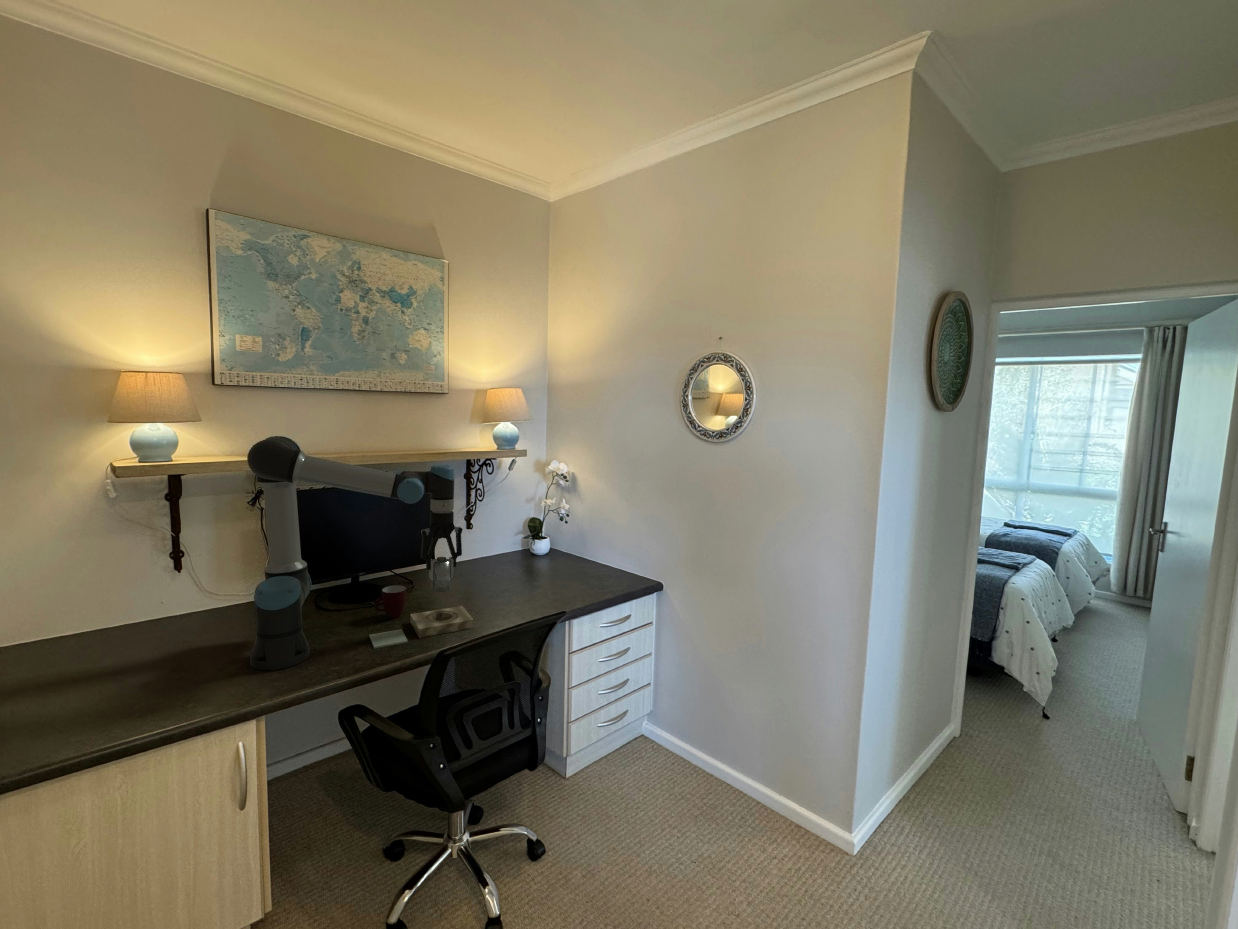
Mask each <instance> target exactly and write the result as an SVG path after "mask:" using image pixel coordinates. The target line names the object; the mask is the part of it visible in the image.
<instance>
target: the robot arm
mask: <svg viewBox="0 0 1238 929" xmlns="http://www.w3.org/2000/svg"><path fill="white" fill-rule="evenodd" d="M248 450H249V451H248V453H247V456H246V457H247V458H246V459H247V465H248V467H249V469H250V471H252V473H253V474H254V475H256V483H257V484H258V485H260V486H261V487H262V488H263V498H264V511H265V521H266V524H265V525H266V532H267V546H268V558H269V564H267V565H266V566H265V568H264V580H262V581H260V582H259V583H258V584H256V587H255V588H254V595H253V600H254V610H255V611H254V615H255V632H256V634H255V636H256V638H255V641H254V643H253V647H252V650H251V653H250V655H249V656H250V657H249V661H250V662H249V663H250V666H251V667H252V668H253V669H255V670H259V671H277V670H284V669H287V668H290V667H294V666H296V665H299V664H301V663H303V662H304V661H306V660H307V659H308V658H309V657H310V655H311V654H310V651H311V650H310V645H309V642H308V640H307V638H306V635H305V634H304V631H303V612H302V609H303V608H302V607H303V605H304V603H305V600H306V599H307V597H308V596H309V594H310V592H311V589H312V579H311V575H310V574H309V571H308V563H307V562H306V561H305V560H303V559H302V553H301V552H302V550H301V536H300V525H299V522H300V521H299V513H298V512H299V511H298V498H297V497H298V496H297V486H296V485H297V484H298V483H299V482H303V483H304V482H305V483H310V484H315V485H321V486H326V487H332V488H337V489H343V490H347V491H351V492H352V491H353V492H359V493H364V494H369V495H373V496H375V495H376V496H381V497H386V498H391V499H395V500H399V501H402V502H403V503H405V504H411V505H412V504H416V503H418V502H419V501H420V500H421V499H422V498H423V496H424V495H429V494H430V507H429V508H430V511H431V512H429V513H430V516H429V517H430V518H429V526H428V528H422V529H421V530H420V534H421V544H420V545H421V546H420V558H421V560H423V561H424V560H425V568H426V570H427V571H428V577H429V580H430V581H432V580H433V560H434V559H433V555H434V552H435V550H436V546H437V544H438V542H439V540H440V539H445V540H446V543H447V546H448V549H449V552H450V556H449V557H448V559H450V560H451V565H450V579H452V578H454V568H456V566H457V558H458V557H461V556H462V555H463V550H462V549H463V547H462V546H463V545H462V534H463V528H462V527H461V526H457V525H455V523H454V521H455V520H454V515H455V514H454V508H455V505H454V504H455V468H454V467H453V466H452V465H449V464H433V465H432V466H430V470H427V471H417V470H415V471H412V470H410V471H409V470H399V471H398V470H397V471H394V472H389V471H385V470H380V469H374V468H370V467H364V466H361V465H356V464H351V463H345V462H341V461H335V460H332V459H331V460H330V459H325V458H323V457H322V458H321V457H317V456H310V455H307V454H306V453H305V452H304V451H303V450H301V446H299V444H298V443H297V442H296V441H295V440H293V439H292V438H290V437H287V436H282V435H280V436H279V435H274V436H273V435H272V436H269V437H267V438H264V439H262V440H260V441H258V442H256V443H254V444H253V445H252V446H251V447H250V449H248ZM453 532H454V533H455V546H456V548H455V546H454V543H453V540H452V536H451V534H452V533H453ZM429 533H431V534H432V537H431V541H430V543H429V547H428V545H427V544H428V536H429ZM427 547H428V550H427ZM455 549H456V550H455Z"/></svg>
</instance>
